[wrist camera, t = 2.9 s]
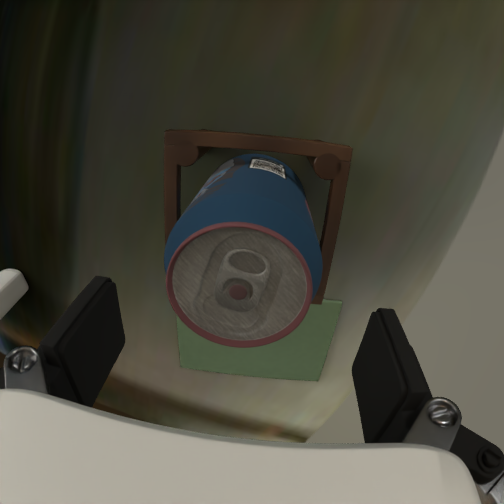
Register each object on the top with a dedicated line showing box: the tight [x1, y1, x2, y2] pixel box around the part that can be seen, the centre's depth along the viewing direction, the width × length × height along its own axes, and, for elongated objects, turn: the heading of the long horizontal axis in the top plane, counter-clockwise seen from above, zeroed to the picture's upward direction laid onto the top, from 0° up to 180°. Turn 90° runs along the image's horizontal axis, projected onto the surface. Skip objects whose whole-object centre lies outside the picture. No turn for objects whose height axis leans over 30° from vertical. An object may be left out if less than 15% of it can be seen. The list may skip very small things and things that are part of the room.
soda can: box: [164, 154, 323, 348], centre depth 18 cm, size 7×7×12 cm
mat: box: [176, 299, 342, 381], centre depth 29 cm, size 14×10×1 cm
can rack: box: [164, 129, 353, 305], centre depth 21 cm, size 10×10×5 cm
